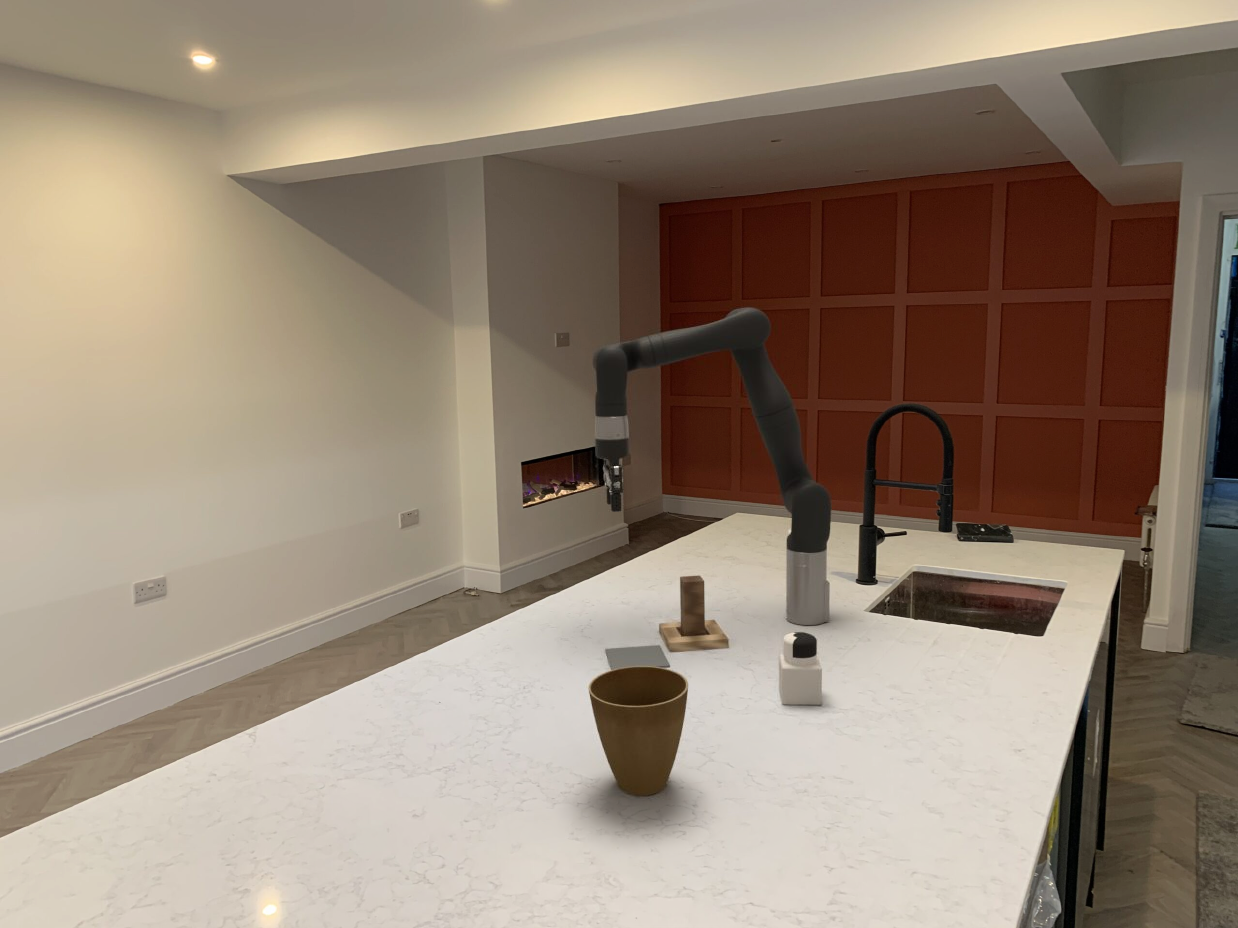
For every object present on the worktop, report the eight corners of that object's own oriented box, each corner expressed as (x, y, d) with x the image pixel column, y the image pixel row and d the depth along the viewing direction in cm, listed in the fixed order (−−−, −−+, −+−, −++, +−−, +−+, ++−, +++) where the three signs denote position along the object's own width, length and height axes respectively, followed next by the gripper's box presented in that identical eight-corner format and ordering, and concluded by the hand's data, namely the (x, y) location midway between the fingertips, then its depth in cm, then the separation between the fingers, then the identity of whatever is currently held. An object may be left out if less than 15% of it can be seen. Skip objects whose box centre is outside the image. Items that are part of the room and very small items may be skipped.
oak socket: (714, 627, 200) (714, 619, 200) (728, 647, 187) (728, 638, 187) (659, 631, 198) (658, 623, 198) (669, 651, 186) (669, 642, 185)
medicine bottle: (816, 689, 164) (817, 628, 163) (821, 705, 157) (822, 642, 155) (778, 689, 165) (778, 628, 163) (782, 704, 158) (782, 642, 156)
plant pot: (632, 751, 142) (630, 658, 139) (708, 778, 132) (707, 679, 130) (571, 789, 130) (567, 688, 128) (649, 822, 121) (647, 714, 119)
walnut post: (700, 635, 195) (699, 575, 193) (705, 642, 191) (704, 580, 189) (680, 636, 195) (680, 576, 193) (685, 643, 190) (684, 582, 188)
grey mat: (659, 646, 189) (659, 644, 189) (670, 667, 177) (670, 665, 177) (605, 650, 188) (605, 648, 187) (611, 671, 176) (611, 669, 176)
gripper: (633, 438, 185) (635, 513, 188) (624, 431, 199) (626, 500, 202) (598, 440, 185) (600, 514, 187) (592, 433, 199) (594, 502, 201)
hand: (613, 507), depth 194 cm, fingers open, 8 cm apart
